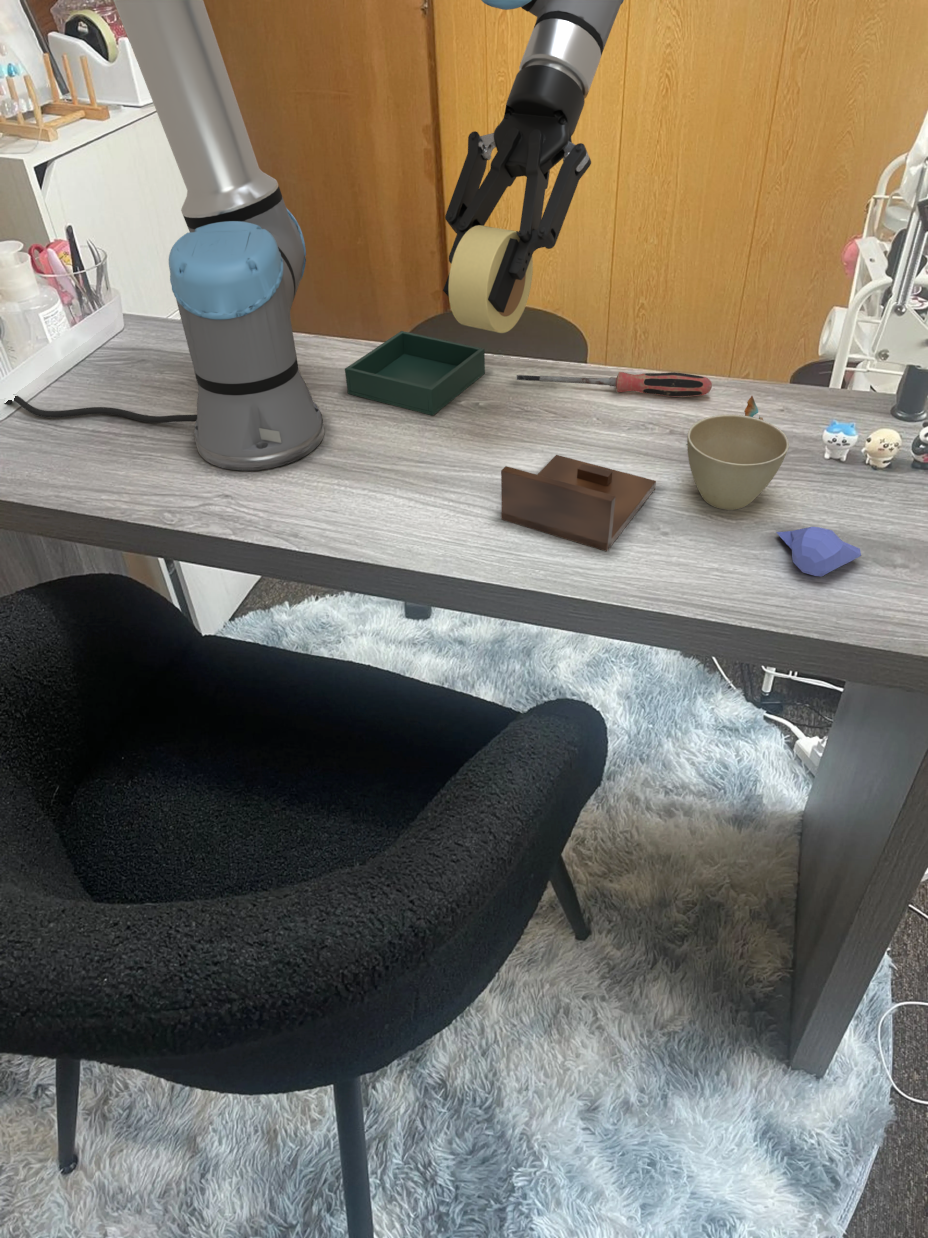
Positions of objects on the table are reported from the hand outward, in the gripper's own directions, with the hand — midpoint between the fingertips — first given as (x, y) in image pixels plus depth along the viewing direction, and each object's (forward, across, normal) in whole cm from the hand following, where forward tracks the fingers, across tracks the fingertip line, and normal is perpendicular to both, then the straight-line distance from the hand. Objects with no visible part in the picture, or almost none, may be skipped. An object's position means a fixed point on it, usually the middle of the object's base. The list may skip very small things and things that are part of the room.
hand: (473, 300), depth 91 cm
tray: (+4, +16, -22) cm, 27 cm away
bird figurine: (+14, -38, -12) cm, 43 cm away
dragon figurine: (+2, -25, -24) cm, 35 cm away
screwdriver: (-2, -8, -26) cm, 28 cm away
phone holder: (+15, -15, -10) cm, 24 cm away
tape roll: (0, 0, -6) cm, 6 cm away
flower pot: (+9, -28, -17) cm, 34 cm away
